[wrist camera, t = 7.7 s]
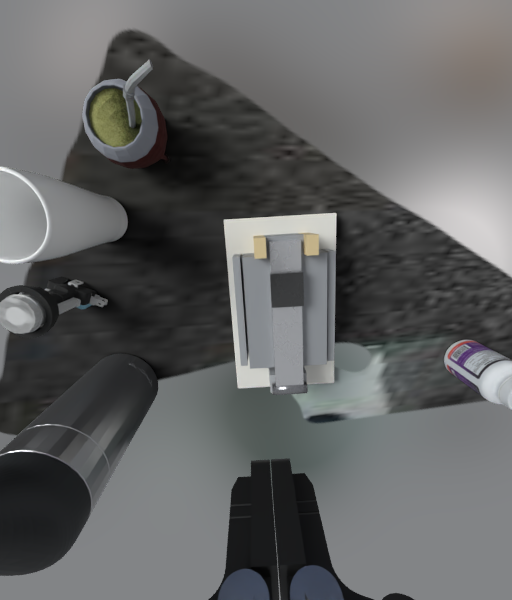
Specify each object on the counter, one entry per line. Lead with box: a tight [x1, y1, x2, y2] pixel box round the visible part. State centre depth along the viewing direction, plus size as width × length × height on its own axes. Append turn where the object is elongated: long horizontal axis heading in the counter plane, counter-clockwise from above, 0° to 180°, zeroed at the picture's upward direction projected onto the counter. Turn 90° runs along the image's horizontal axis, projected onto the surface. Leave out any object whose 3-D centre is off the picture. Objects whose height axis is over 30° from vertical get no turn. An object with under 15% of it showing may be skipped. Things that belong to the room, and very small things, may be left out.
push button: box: [0, 277, 108, 338], centre depth 32 cm, size 7×5×10 cm
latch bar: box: [269, 240, 308, 395], centre depth 32 cm, size 18×4×2 cm, turn 3°
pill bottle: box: [444, 340, 512, 410], centre depth 35 cm, size 5×5×10 cm
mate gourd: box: [82, 59, 171, 169], centre depth 25 cm, size 8×8×15 cm
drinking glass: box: [0, 167, 128, 264], centre depth 27 cm, size 7×7×15 cm
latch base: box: [224, 213, 336, 393], centre depth 34 cm, size 22×13×7 cm, turn 3°
